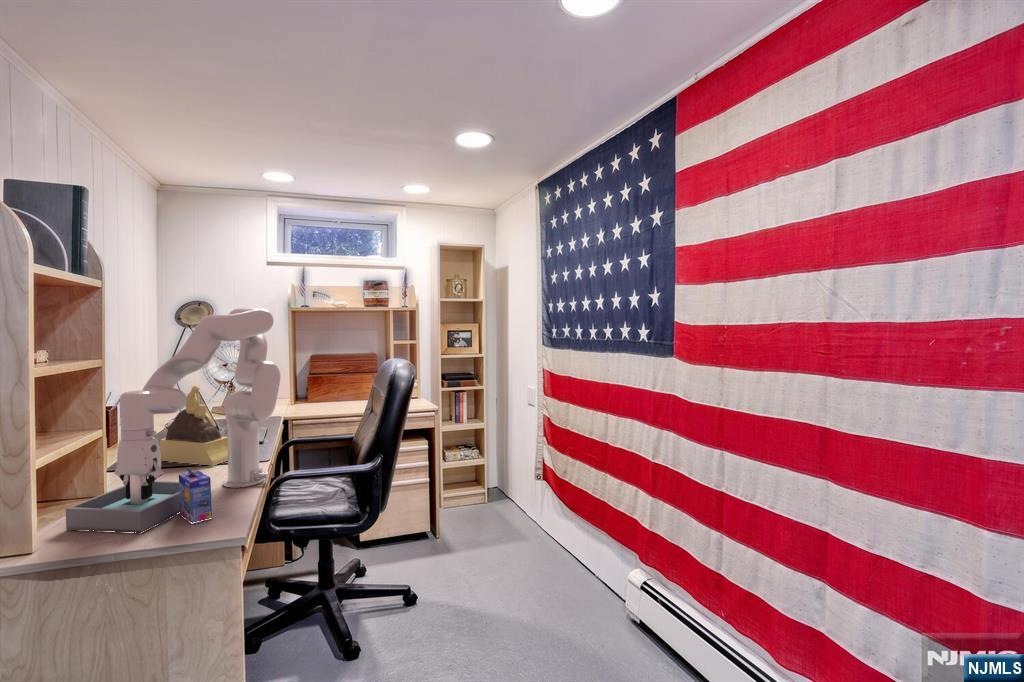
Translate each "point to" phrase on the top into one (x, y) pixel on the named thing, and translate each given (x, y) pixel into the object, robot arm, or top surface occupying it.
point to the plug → (136, 490)
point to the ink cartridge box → (195, 496)
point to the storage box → (125, 510)
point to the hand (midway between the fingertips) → (139, 497)
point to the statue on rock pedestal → (194, 436)
